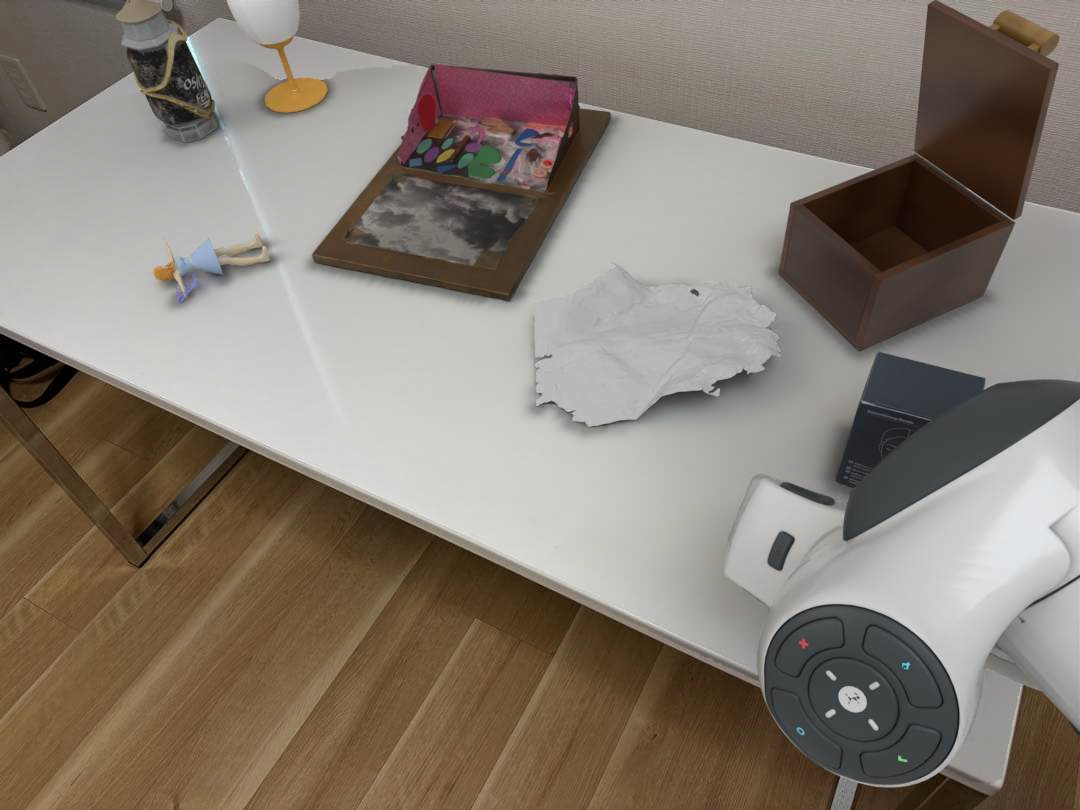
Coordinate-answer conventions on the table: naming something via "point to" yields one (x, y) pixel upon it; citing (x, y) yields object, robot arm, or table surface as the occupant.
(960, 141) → the chest lid
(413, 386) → the table surface
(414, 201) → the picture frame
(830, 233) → the chest
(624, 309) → the paper
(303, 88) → the cup
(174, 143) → the table surface
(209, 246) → the fairy figurine
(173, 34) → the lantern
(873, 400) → the box
